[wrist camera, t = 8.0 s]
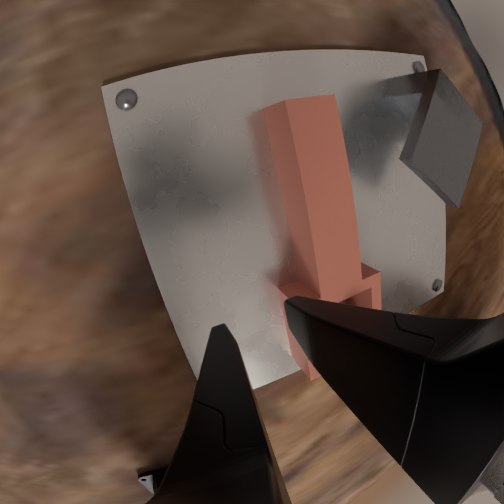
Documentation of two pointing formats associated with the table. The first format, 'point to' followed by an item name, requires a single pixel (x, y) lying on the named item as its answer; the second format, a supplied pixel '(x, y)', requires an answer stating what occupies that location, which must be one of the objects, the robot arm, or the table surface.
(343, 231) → the link
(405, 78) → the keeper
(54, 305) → the table surface
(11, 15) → the table surface
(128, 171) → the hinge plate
